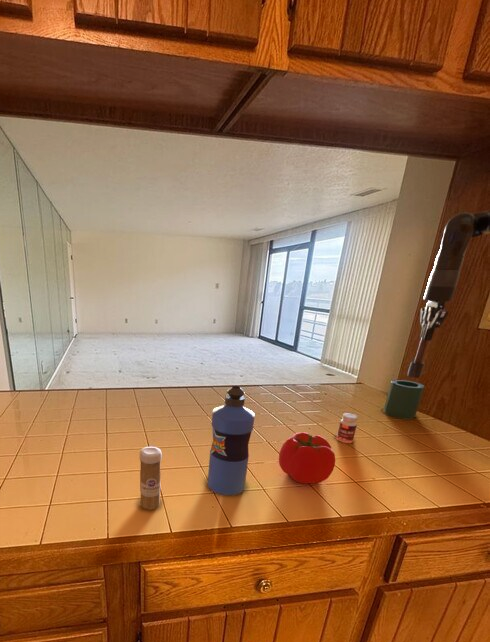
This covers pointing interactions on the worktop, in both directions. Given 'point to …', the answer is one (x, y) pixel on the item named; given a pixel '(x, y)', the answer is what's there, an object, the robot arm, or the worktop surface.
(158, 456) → the sprinkles bottle
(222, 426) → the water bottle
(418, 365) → the brush
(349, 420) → the pill bottle
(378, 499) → the worktop surface
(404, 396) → the jar
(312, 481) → the tomato
